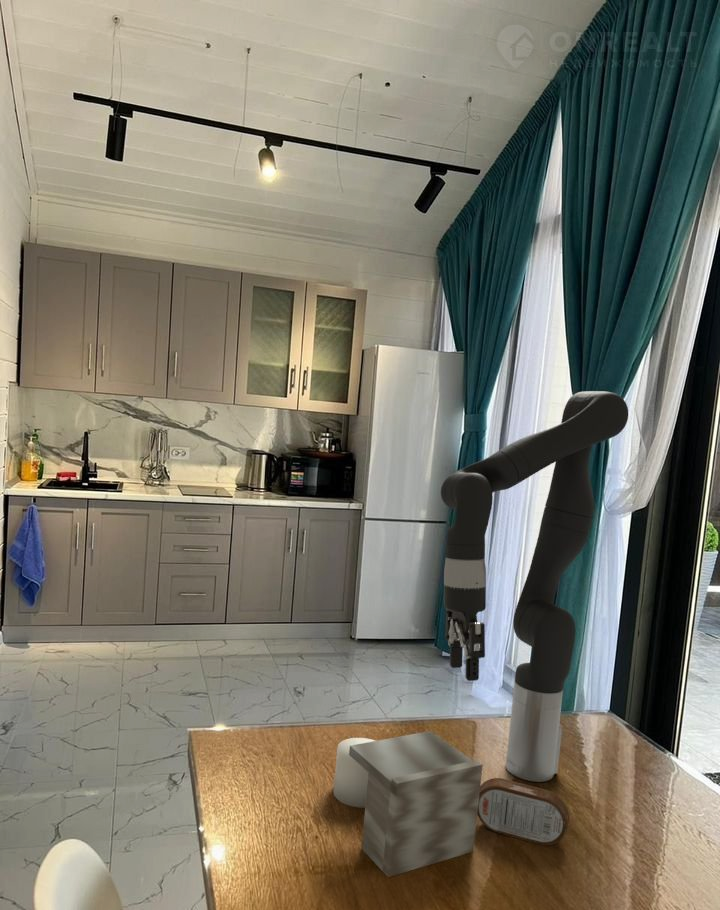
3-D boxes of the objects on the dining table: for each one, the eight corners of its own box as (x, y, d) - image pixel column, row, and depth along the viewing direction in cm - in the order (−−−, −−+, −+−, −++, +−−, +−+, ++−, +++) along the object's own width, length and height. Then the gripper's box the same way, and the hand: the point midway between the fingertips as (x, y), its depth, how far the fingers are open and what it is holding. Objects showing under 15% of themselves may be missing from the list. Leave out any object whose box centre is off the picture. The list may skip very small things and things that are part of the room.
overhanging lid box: (422, 807, 125) (430, 728, 124) (473, 851, 114) (482, 764, 113) (341, 827, 117) (350, 742, 116) (387, 877, 105) (397, 783, 104)
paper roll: (367, 776, 134) (371, 734, 133) (394, 801, 126) (398, 756, 126) (324, 786, 129) (328, 742, 129) (349, 812, 122) (354, 765, 121)
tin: (566, 843, 118) (572, 793, 118) (565, 854, 115) (571, 803, 115) (474, 819, 123) (479, 770, 123) (471, 828, 120) (476, 779, 120)
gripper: (499, 589, 125) (498, 684, 125) (470, 577, 139) (469, 662, 139) (458, 590, 124) (456, 686, 123) (433, 577, 138) (432, 663, 137)
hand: (463, 673), depth 131 cm, fingers open, 8 cm apart
